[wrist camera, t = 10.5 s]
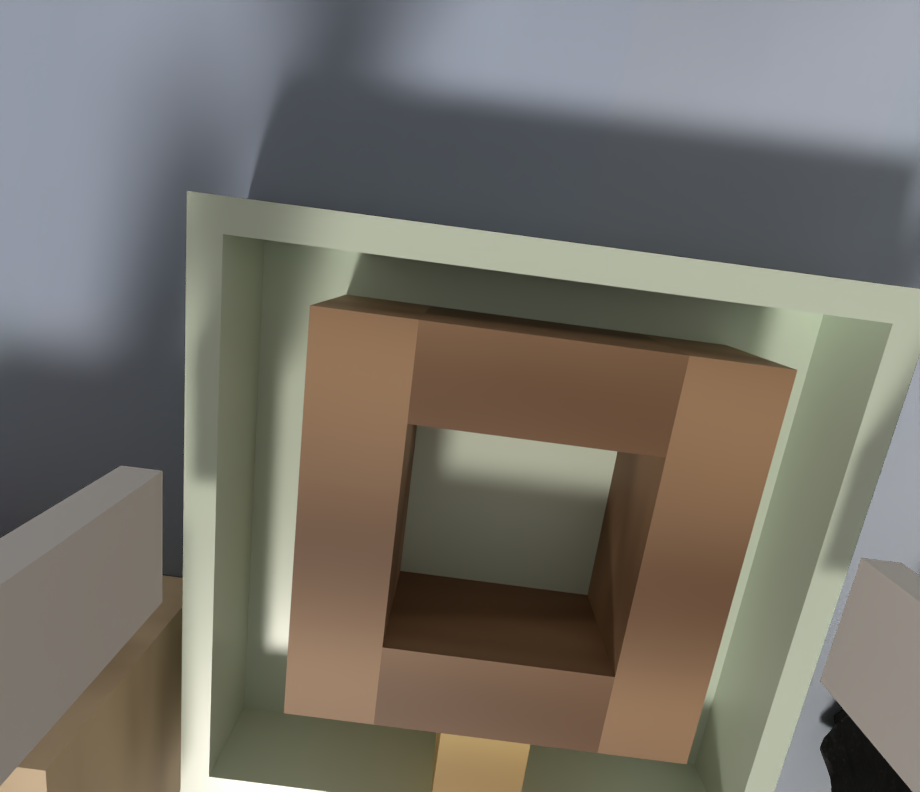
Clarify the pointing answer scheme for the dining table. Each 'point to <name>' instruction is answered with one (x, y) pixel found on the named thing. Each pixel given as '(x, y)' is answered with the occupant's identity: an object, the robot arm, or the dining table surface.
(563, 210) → the dining table surface
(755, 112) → the dining table surface
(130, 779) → the block with upright handle
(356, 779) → the tray
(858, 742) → the mineral
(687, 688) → the ring
